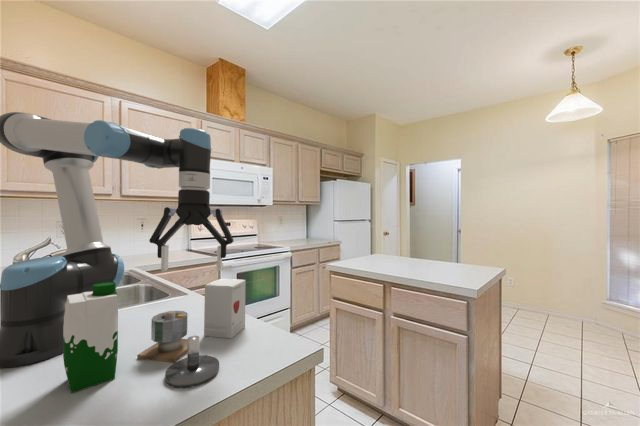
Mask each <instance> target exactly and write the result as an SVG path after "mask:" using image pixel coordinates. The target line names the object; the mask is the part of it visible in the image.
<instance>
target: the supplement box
mask: <svg viewBox="0 0 640 426" xmlns="http://www.w3.org/2000/svg"><path fill="white" fill-rule="evenodd" d="M246 284H247V283H246V279H241V278H240V279H239V278H237V279H233V278H219V279H216V280H213V281H211V282H209V283H207V284H204V312H203V313H204V318H203V319H204V320H203V324H204V325H203V336H205V337H206V336H207V337H214V338H224V339H232V338H234V337H235V336H236V335H237V334H239V333H240V332H241V331H242V330H243V329H245V328H246Z"/></svg>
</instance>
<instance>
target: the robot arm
mask: <svg viewBox="0 0 640 426" xmlns="http://www.w3.org/2000/svg"><path fill="white" fill-rule="evenodd" d="M211 141H212V140H211V134H210V133H209V132H207V131H206V130H203V129H200V128H194V127H185V128H182V129H180V132H179V135H178V138H161V137H158V136H155V135H151V134H149V133H145V132H141V131H139V130H135V129H132V128H129V127H126V126H123V125H120V124H119V123H115V122H110V121H107V120H106V121H105V120H100V119H99V120H94V121H93V122H82V121H81V122H79V121H72V120H71V121H68V120H59V119H51V118H48V117H44V116H40V115H37V114H33V113H27V112H19V111H12V112H5V113H3V114H1V115H0V144H1V145H2V146H3V147H5V148H7V149H9V150H11V151H13V152H15V153H18V154H21V155H25V156H31V157H34V158H35V157H36V158H42V161H43V166H44V168H45V169H46V170H48V171H50V172H51V173H52V177H53V182H54V183H53V184H54V187H55V193H56V197H57V198H56V199H57V202H58V208H59V214H60V218H61V225H62V228H63V233H64V234H63V235H64V241H65V245H66V250H65V251H64V253H62V255H61V256H60V255H59V256H58V255H55V256H45V257H44V256H43V257H37V258H31V259H27V260H25V259H24V260H21V261H18V262H15V263H12V264H9V265H8V266H6V267H5V268H4V269H3V270H2V272H1V274H0V275H1V276H0V368H2V369H5V368H14V367H21V366H26V365H30V364H34V363H38V362H41V361H46V360H48V359H51V358H54V357H56V356H58V355H60V354H63V326H64V314H65V308H66V301H67V296H68V295H74V294H81V293H83V292H92V291H93V285H94V284H97V283H102V282H115V283H116V288H117V287H118V286H119V285H120V284H121V282H122V281H123V279H124V277H125V276H124V275H125V263H124V261H123V258H122V257H120V256H119V255H118V254H116V253H112V248H111V246H110V245H108V244H106V243H105V242H104V240H103V239H104V237H103V233H102V229H101V225H100V219H99V214H98V209H97V205H96V199H95V195H94V194H95V193H94V190H93V184H92V180H91V175H90V170H91V169H92V168H93V167H94V164H95V162H96V161H98V159H99V157H102V158H108V159H113V160H114V159H115V160H120V161H121V160H122V161H127V162H133V163H138V164H143V165H144V166H145V167H147V168H153V169H155V168H156V169H165V168H167V169H169V168H170V169H171V168H178V188H179V190H178V193H177V194H178V196H177V199H178V200H177V208H172V206H171V207H169V206H166V207H164V209H163V215H162V217H161V219H160V221H159V223H158V225H157V226H156V228H155V230H154V232H153V233H152V235H151V236H150V238H149V243H150V244H155V245H156V246H157V258H158V259H160V260H161V261H160V264H161V266H160V273H161V272H163V273H165V272H166V271H168V270H169V245H170V244H166V243H167V242H168V241H169V240H170V239H171V238H172V237H173V236H174V235H175V234H176V233H177V232H178V230H179V229H181V228H182V227H183V226H184V225H185V226H192V225H194V226H201V225H203V227H204V228H206V230H207V231H208V232H209V233H210V235H212V236H213V237H214V239H215V240H216V241H217V242H218V243H219V245H218V246H217V255H216V256H217V257H216V262H217V263H216V272H221V270H223V259H226V256H227V246H228V245H231V244H233V243H234V238H233V236H232V234H231V231H230V229H229V228H228V225H227V223H226V222H225V220H224V218H223V210H222V209H221V208H216V209H215V208H214V209H211V207H210V201H211V200H210V192H209V191H210V190H209V189H210V188H211V157H212V155H211V154H212V147H211V146H212V145H211V144H212V143H211ZM208 190H209V191H208ZM211 214H212V216H213V217H214V218H215V219H216V221H217V224H218V225H219V227H220V230H221V231H222V233H223V236H224V237H225V238H224V237H223V236H222V235H221V233H220V232H219V231H218V230H217V229H216V227H215V226H214V225H213V224H212V222H211V221H210V220H209V219H208V218H209V217H210V216H211ZM174 215H177V216H178V219H177V220H176V221H175V222H174V224H173V225H172V226H171V227H170V228H169V229H168V230H167V231H166V232H165V234H164V235H163V233H164V231H165V229H166V228H167V226H168V224H169V222H170V220H171V218H172V217H173V216H174ZM162 235H163V236H162Z"/></svg>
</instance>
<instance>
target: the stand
mask: <svg viewBox="0 0 640 426" xmlns="http://www.w3.org/2000/svg"><path fill="white" fill-rule="evenodd" d="M175 311H176V310H167V311H164V312H165V319H172V318H175ZM187 340H188V338H181V339H179V340H175V341H172V342H165V343H159V342H155V344H152V345H151V346H149V347H148V348H146V349H144V350H143V351H141V352H139V353H138V354H137V355H136V357H137V360H145V361H153V362H163V363H171V364H174V363H175V362H177V361H179V360H181V359H182V358H183V357H184V356H185V355H187Z"/></svg>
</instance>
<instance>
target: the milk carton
mask: <svg viewBox="0 0 640 426" xmlns="http://www.w3.org/2000/svg"><path fill="white" fill-rule="evenodd" d="M116 288H117V287H116V283H115V282H102V283H97V284H94V285H93V291H92V292H83V293H81V294H74V295H68V296H67V301H66V305H65V314H64V326H63V353H62V354H63V356H62V357H63V358H62V359H63V364H64V365H63V366H64V370H65V374H66V377H67V379H66V380H67V382H68V386H69V389H70V393H71V394H73V393H75V392H78V391H79V392H80V391H81V390H85V389H87V388H91V387H94V386H97V385H100V384H103V383H105V382H109V381H112V380H115V379H116V372H117V370H116V369H117V361H118V355H119V354H118V351H119V349H118V348H119V296H118V292H117V289H116Z"/></svg>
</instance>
